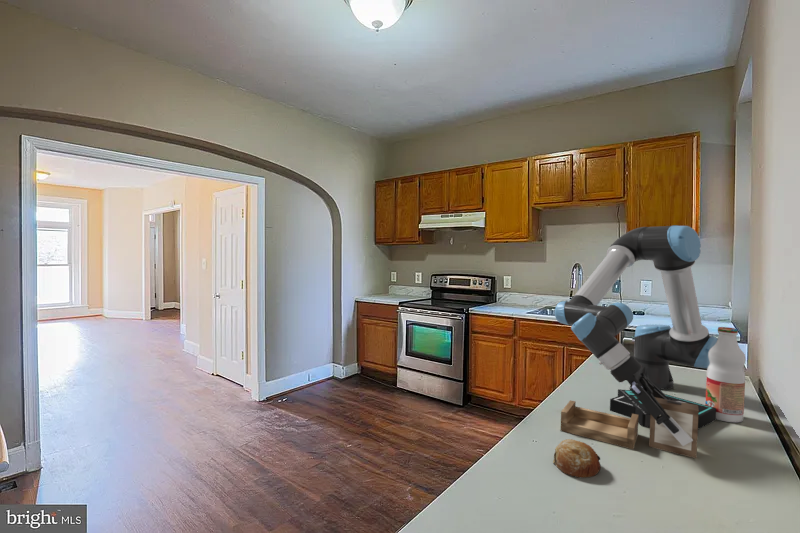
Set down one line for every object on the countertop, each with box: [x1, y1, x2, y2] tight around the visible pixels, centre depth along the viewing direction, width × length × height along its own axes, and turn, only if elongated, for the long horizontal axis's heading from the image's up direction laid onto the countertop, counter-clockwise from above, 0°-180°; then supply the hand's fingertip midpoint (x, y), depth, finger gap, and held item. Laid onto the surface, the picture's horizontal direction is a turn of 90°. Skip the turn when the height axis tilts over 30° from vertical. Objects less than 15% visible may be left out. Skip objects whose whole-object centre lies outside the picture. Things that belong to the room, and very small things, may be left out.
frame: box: [648, 397, 699, 459], centre depth 105 cm, size 10×5×12 cm, turn 55°
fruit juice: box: [704, 326, 746, 424], centre depth 126 cm, size 9×9×28 cm
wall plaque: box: [609, 389, 717, 430], centre depth 128 cm, size 30×4×30 cm
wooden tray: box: [560, 400, 639, 450], centre depth 114 cm, size 18×11×6 cm, turn 55°
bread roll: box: [552, 438, 601, 478], centre depth 95 cm, size 10×10×8 cm
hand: (687, 435), depth 103 cm, fingers open, 9 cm apart
